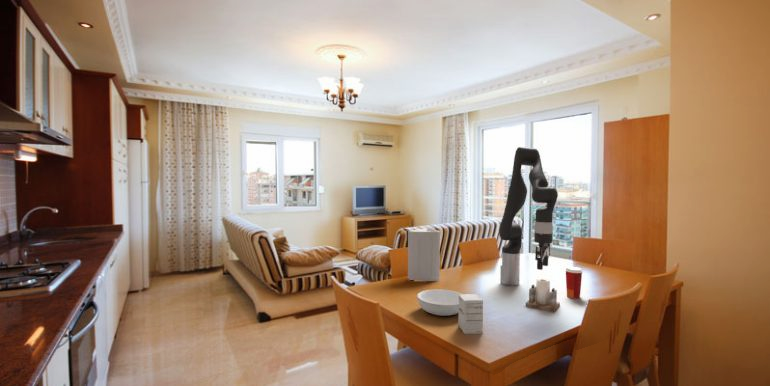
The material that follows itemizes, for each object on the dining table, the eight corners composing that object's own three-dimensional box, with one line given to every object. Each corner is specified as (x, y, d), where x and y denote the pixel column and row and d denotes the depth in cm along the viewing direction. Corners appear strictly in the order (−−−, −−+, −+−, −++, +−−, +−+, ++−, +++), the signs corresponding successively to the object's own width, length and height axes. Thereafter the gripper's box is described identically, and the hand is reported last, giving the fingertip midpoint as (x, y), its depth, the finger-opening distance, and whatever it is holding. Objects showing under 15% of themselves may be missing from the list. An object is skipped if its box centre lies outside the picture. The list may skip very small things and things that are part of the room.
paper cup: (581, 295, 179) (582, 267, 179) (582, 300, 172) (583, 270, 172) (564, 293, 182) (564, 265, 182) (564, 298, 175) (564, 269, 175)
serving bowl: (436, 324, 142) (436, 307, 142) (408, 308, 161) (408, 292, 161) (476, 316, 152) (477, 299, 152) (446, 301, 171) (446, 286, 170)
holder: (525, 306, 164) (525, 286, 164) (532, 300, 172) (532, 282, 172) (554, 312, 157) (554, 292, 156) (559, 305, 164) (560, 286, 164)
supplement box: (457, 326, 141) (458, 294, 141) (476, 325, 142) (476, 293, 141) (463, 334, 134) (463, 300, 133) (483, 333, 134) (483, 299, 134)
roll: (534, 302, 164) (534, 279, 164) (538, 299, 168) (538, 277, 168) (547, 305, 160) (547, 282, 160) (551, 302, 165) (551, 279, 164)
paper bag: (429, 284, 198) (429, 233, 197) (407, 279, 207) (407, 231, 207) (447, 277, 212) (447, 229, 212) (426, 273, 222) (426, 227, 221)
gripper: (539, 229, 171) (538, 263, 172) (529, 232, 160) (529, 269, 160) (556, 230, 166) (555, 266, 167) (548, 234, 155) (547, 272, 156)
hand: (542, 267), depth 164 cm, fingers open, 8 cm apart
